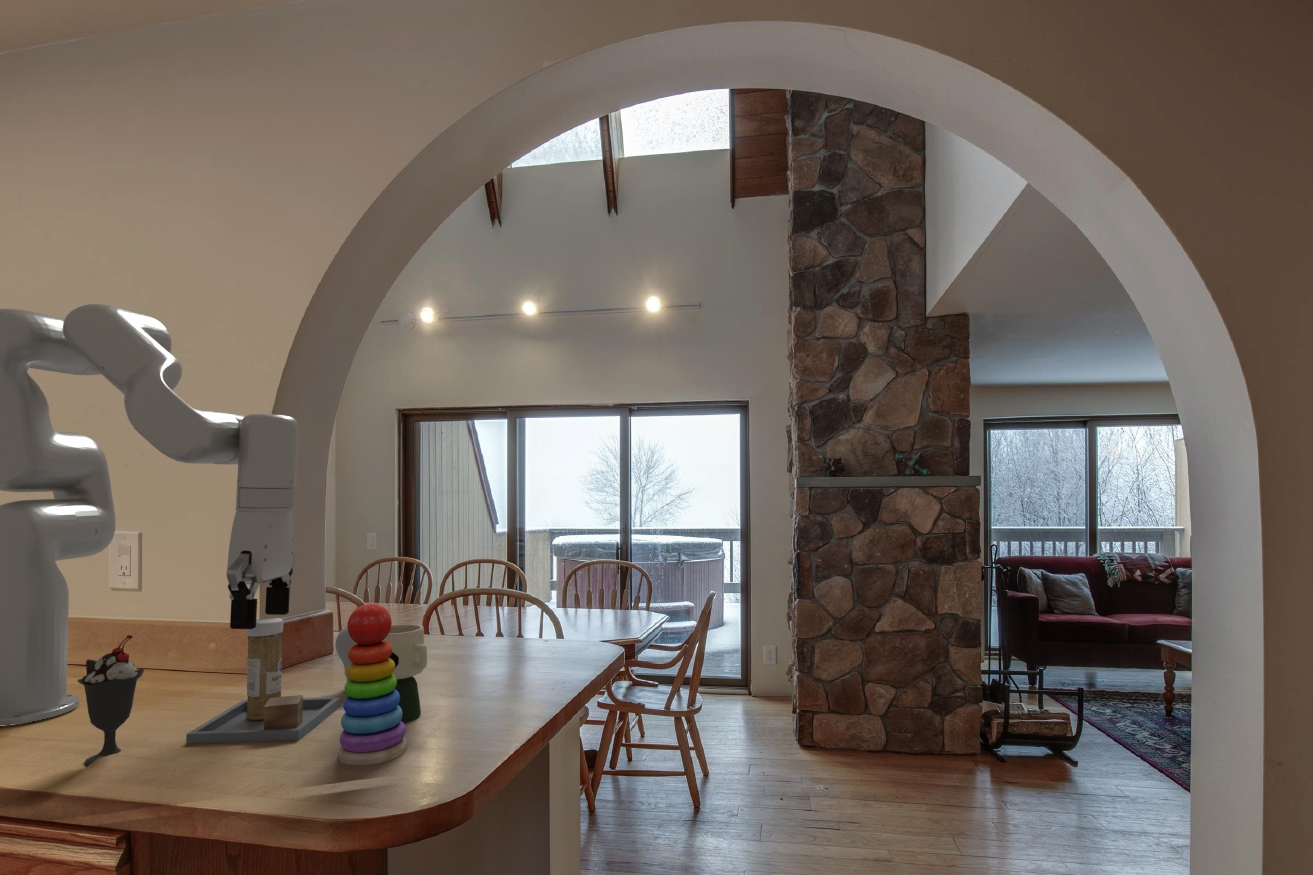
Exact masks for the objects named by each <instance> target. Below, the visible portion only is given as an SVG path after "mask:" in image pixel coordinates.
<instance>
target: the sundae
mask: <svg viewBox="0 0 1313 875" xmlns="http://www.w3.org/2000/svg"><path fill="white" fill-rule="evenodd" d="M133 637H134V636H133V635H129V634H127V635H126V637H125V638H124V639H123V640H122V641H121V642H120V644H119V645H118V647H115V648H113V649H112V651H111V652H109V653H107V654H103V655H102V656H101V657H99V659H97V660H94V659H89V658H88V659H86V661H85V669H86V675H83V677H82V678H79V679H77V683H79V684H81V685H82V686H84V691H85V692H84V693H85V698H86V699H85V700H86V704H87V706H86V707H87V713H88V717H89V721H90V724H91V725H92V726H94V727H95V728H96V729H98V730H101V731H102V733H103V734H104V738H103V740H104V741H103V745H102V748H101V750H100V752H98V753H97V754H94V755H92V756H89V757H88V758H86V759H85V760H84V764H83V765H85V766H88V767H89V766H90V765H92V764H93V763H94V762H95V761H96V760H97V759H98V758H100V757H105V756H107V757H108V756H111V755H116V754H119V753H120V752H121V751H122V749H120V747H118V745H117V741H116V734H117V732H116V731H117V730H118V729H119V728H120V727H121V726H122V725H123V724H124V723H125V722H126V721H127V720H128V719H129V718H130V716H131V712H132V708H133V705H134V704H133V703H134V698H135V691H136V687H137V682H138V679H140V678H141V677H143V675H144V672H145V670H144V668H140V669H137V667H136V665H135V663H134V662H132V661H130V660H129V659H130V654H129V653H126V652H125V651H124V650H125V649H124V648H125V645H126V643H127V642H129V641H130V640H131V639H133ZM121 646H122V647H121Z"/></svg>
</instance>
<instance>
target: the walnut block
mask: <svg viewBox="0 0 1313 875" xmlns="http://www.w3.org/2000/svg"><path fill="white" fill-rule="evenodd" d="M303 695H304V694H297V695H287V696H281V697H275V698H270V699H269V700H268V702H267V703H266V705H265V706H264V729H295V728H297V727H298V726H299V725H301V724H302V722H303V698H304V697H303Z"/></svg>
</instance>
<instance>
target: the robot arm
mask: <svg viewBox="0 0 1313 875" xmlns="http://www.w3.org/2000/svg"><path fill="white" fill-rule="evenodd" d="M172 346H173V344H172V338H171V334H170V333H169V330H168V329H167V327H166V326H165V325H164V324H163V323H161V321H159V320H157V319H156V318H155V317H152V316H150V315H147V314H143V313H139V312H135V311H132V310H127V309H124V308H120V307H117V306H113V305H110V304H109V305H107V304H101V303H91V304H90V303H89V304H85V305H84V304H83V305H81V306H78V307H76V308H73V310H71V311H69V313H68V314H67V315H66V316H65V318H61V317H57V316H53V315H49V314H44V313H40V312H35V311H30V310H24V309H23V310H22V309H17V308H0V491H2V492H11V493H43V492H44V493H45V492H46V493H47V492H50V493H51V492H52V495H53V498H54V499H53V498H48V499H47V498H45V499H42V498H41V499H24V500H23V499H22V500H15V501H10V502H6V503H3V504H1V505H0V725H10V724H18V725H21V724H20V723H25V724H28V723H27V722H30V723H33V722H32V721H35V722H38V721H37V720H39V721H43V720H42V719H44V720H47V719H46V718H48V719H50V717H51V718H53V717H54V716H55V717H57V716H61V715H64V714H65V713H68V712H71V711H73V710H74V708H75V709H76V708H78V707H79V705H80V696H78V695H76V694H72V693H67V686H68V685H67V680H68V673H67V672H68V648H69V647H68V644H69V641H68V639H69V606H70V603H69V601H70V600H69V598H70V596H69V587H68V582H67V580H66V578H65V577H64V575H63V573H62V571H61V570H60V568H59V567H58V565H57V563H56V562H57V561H63V560H72V559H78V558H86V557H87V558H88V557H90V556H95V555H97V554H99V553H101V552H103V551H104V550H105V549H106V548H108V547H109V545H110V544H111V543H112V540H113V539H114V536H115V531H116V524H117V523H116V512H115V505H114V498H113V492H112V491H113V490H112V486H111V484H112V483H111V476H110V472H109V467H108V461H107V458H106V455H105V453H104V451H103V449H102V448H101V447H100V445H99V444H98V443H97V441H96V440H94V439H92V438H91V437H89V436H86V435H84V434H81V433H77V432H76V433H75V432H66V431H56V430H55V429H54V428H53V425H52V422H51V417H50V416H51V415H50V409H49V408H50V407H49V402H48V399H47V397H46V396H45V395H46V394H45V393H44V392H43V390H42V389H41V387H40V385H38V383H37V382H36V381H35V380H34V379H33V377H31V375H30V374H29V373H28V371H29V369H34V370H41V371H48V372H55V373H62V374H68V375H77V376H97V375H102V376H103V377H104V378H105V379H106V380H107V381H108V382H109V383H111V385H113V387H115V388H116V389H117V390H119V391H120V393H122V394H123V395H124V397H123V404H124V409H125V413H126V416H127V419H128V421H129V423H130V425H131V426H132V428H134V430H135V431H136V432H137V433H138V434H139V435H141V437H142V438H143V439H145V441H147V442H148V443H149V444H150V445H152V446H153V447H154V448H155V449H156V450H157V451H158V452H161V454H163V455H164V456H166V457H167V458H170V459H172V460H173V461H176V462H178V463H182V464H183V463H184V464H202V465H203V464H208V465H209V464H211V465H212V464H213V465H237V479H236V483H237V484H236V498H235V515H234V518H233V522H232V527H231V532H230V539H229V540H230V541H229V548H228V556H227V567H226V574H225V575H226V579H227V582H228V584H227V589H228V591H229V599H230V600H231V601H230V619H229V620H230V621H229V628H230V629H231V630H247V629H253V628H255V627H256V619H258V618H257V617H258V616H257V614H258V598H255V595H256V594H257V592H258V589H259V586H260V584H263V583H268V585H269V586H266V588H265V589H266V590H265V609H264V613H265V614H266V615H267V616H268V615H270V616H271V615H272V616H273V615H274V616H275V615H276V616H284V615H288V614H289V612H290V596H291V594H290V593H291V591H290V590H291V585H292V578H291V576H292V574H294V572H293V571H294V569H293V567H294V562H295V559H296V558H295V554H294V524H293V512H295V511H296V502H297V501H296V497H297V479H298V478H297V475H298V473H297V472H298V454H299V452H298V451H299V450H298V449H299V434H300V433H299V423H298V420H296V419H295V418H294V417H292V416H289V415H283V414H269V413H268V414H267V413H252V414H247V415H243V414H237V413H229V412H228V413H227V412H223V411H214V410H213V411H212V410H206V409H195V408H194V407H193V406H191V405H190V404H188V402H185V401H184V399H182V398H181V397H180V396H179V395H177V393H175V392H174V391H173V390H174V389H175V388H176V387H177V386H178V384H179V382H180V381H181V379H182V376H183V367H182V365H181V362H180V360H178V358H177V357H175V356H174V355H173V354H172V353H171V352H172ZM247 585H249V587H248V586H247ZM63 713H64V714H63ZM60 714H61V715H60ZM55 717H54V718H55Z"/></svg>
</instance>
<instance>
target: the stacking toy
mask: <svg viewBox="0 0 1313 875" xmlns="http://www.w3.org/2000/svg"><path fill="white" fill-rule="evenodd" d="M391 625H393V624H392V617H391V614H390V612H389V611H388V609H387V608H385V607H384V606H382V605H381V604H377V603H366V604H362V605H360V606H359V607H357V608H356V609H354V610H353V611H352V612H351V613H350V616H349V618H348V620H347V625H346V626H347V628H348V633H349V636H350V637H351V639H352V640H353V641H354V642H356V643H357V644H355V645H353V646H352V647H351V648H350V649H349V651H348V658H349V660H350V661H351V662H353V663H352V664H350V666H349V667H348V669H347V676H348V677H349V680H348V681H347V680H346V682H345V683H344V684H345V685H344V692H345V695H346V697H345V699H344V700H343V702H342V703H343V704H342V705H343V706H342V707H343V710H344V714H342V716H341V718H340V719H341V720H340V725H341V728H342V729H343V730H342V731H341V733H340V735H339V743H340V745H341V746H340V748H339V749H338V752H337V759H338V761H339V762H340V763H342V764H345V765H352V766H369V765H370V766H371V765H376V764H377V765H378V764H381V763H384V762H388V761H391V760H394V759H397V758H399V757H400V756H402V755H403V754H405V753H406V752H407V751H408V742H407V739H406V738H405V735H406V731H407V730H406V729H407V727H406V725H405V723H403V722H402V721H401V719H402V709H401V708H400V707H399V706H398V704H399V701H400V695H399V693H398V691H397V690H395V687H396V685H397V680H396V677H395V676H394V675H393V674H392V673H393V672H394V670H395V663H394V661H393V660H392V659H390V658H389V657H390V655H391V654H392V646H391V644H390V643H389V642H387V641H383V640H384V639H385V638H386V637H387V635H388V634H389V632H390V629H391Z"/></svg>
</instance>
